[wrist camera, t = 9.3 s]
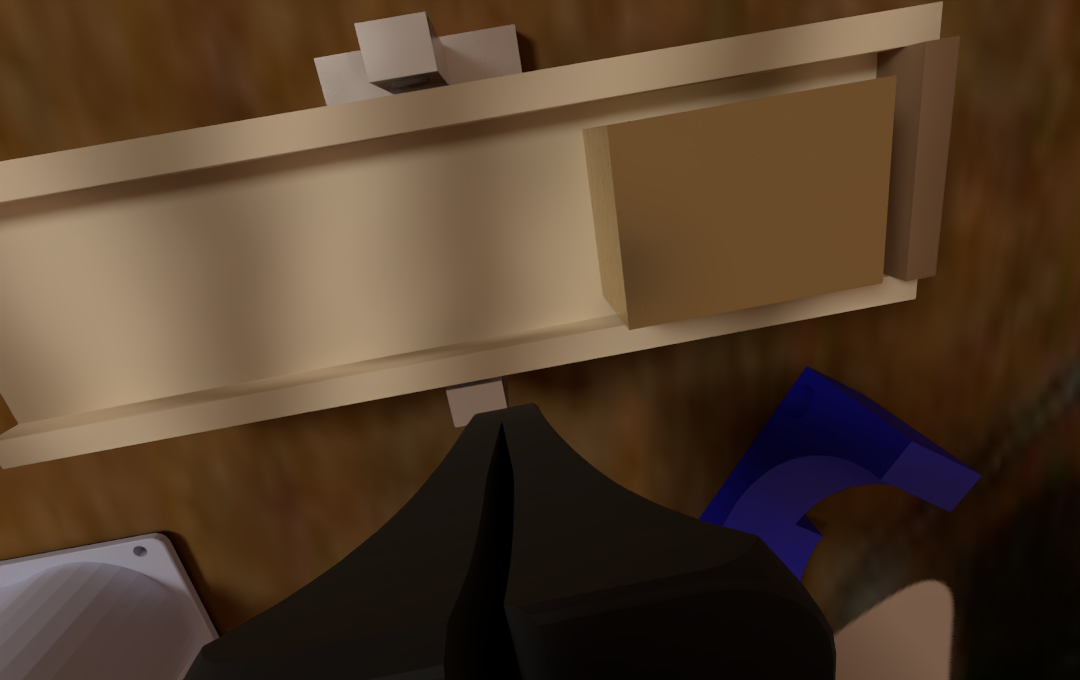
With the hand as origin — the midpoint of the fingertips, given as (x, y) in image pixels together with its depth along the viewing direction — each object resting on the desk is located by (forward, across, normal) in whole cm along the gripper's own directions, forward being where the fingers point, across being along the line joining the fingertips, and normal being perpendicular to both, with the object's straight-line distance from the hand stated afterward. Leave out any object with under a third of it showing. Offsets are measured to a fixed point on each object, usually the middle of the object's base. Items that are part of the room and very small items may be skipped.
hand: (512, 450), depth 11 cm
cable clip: (+10, -10, +10) cm, 17 cm away
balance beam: (+5, +1, -4) cm, 6 cm away
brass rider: (+5, -6, -4) cm, 8 cm away
